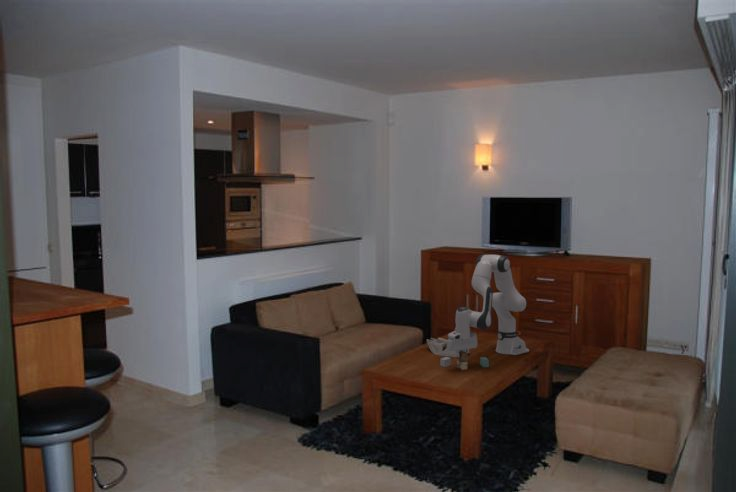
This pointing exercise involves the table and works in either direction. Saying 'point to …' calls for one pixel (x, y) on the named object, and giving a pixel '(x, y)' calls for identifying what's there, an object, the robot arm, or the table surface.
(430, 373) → the table surface
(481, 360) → the teal block
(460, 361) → the maple block
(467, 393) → the table surface
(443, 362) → the grey block
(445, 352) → the mask
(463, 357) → the walnut block
